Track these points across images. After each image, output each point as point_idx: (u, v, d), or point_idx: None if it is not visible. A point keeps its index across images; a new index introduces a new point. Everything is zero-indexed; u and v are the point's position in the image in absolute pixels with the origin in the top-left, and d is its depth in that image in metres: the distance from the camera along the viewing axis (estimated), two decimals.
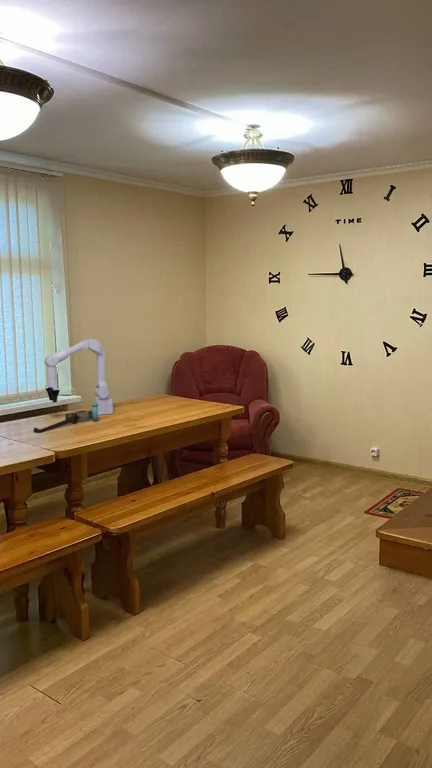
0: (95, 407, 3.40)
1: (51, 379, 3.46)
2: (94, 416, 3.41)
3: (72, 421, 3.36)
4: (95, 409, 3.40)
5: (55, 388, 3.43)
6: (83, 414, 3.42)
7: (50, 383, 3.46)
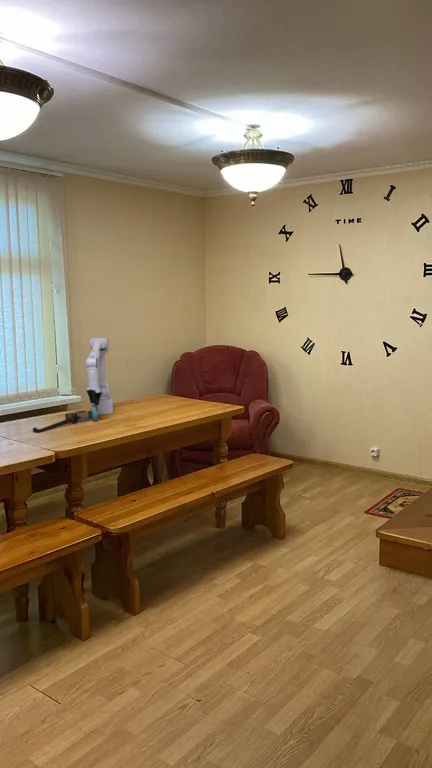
0: (95, 407, 3.40)
1: (93, 381, 3.37)
2: (94, 416, 3.41)
3: (72, 421, 3.36)
4: (95, 409, 3.40)
5: (97, 390, 3.34)
6: (83, 414, 3.42)
7: (92, 385, 3.37)
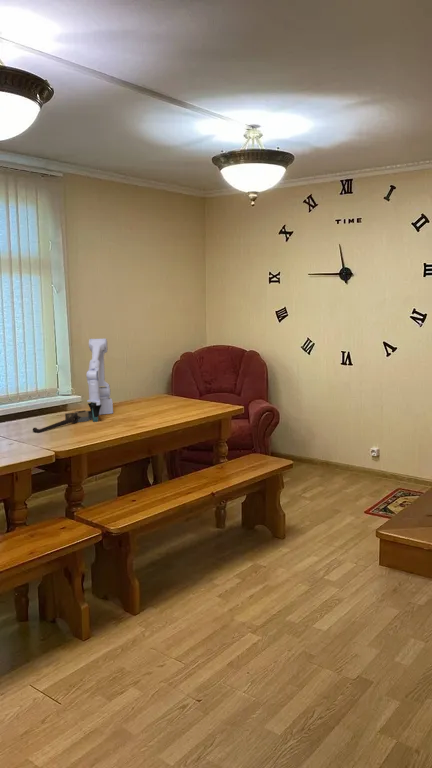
0: None
1: (94, 394, 3.38)
2: None
3: (72, 421, 3.36)
4: None
5: (98, 403, 3.35)
6: (83, 414, 3.42)
7: (93, 398, 3.38)
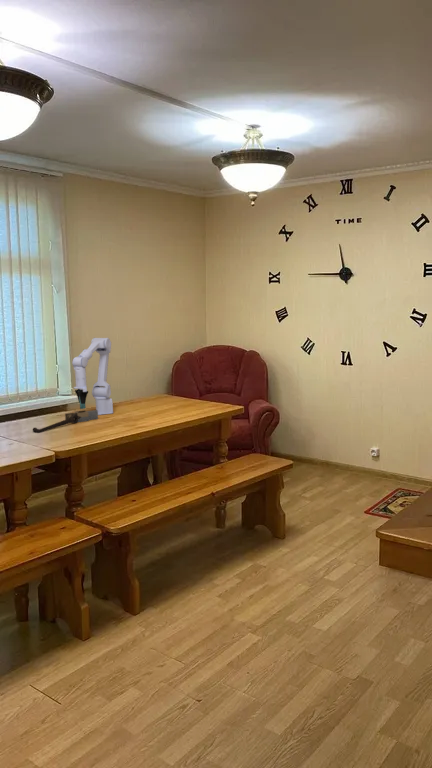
0: None
1: (80, 380, 3.39)
2: None
3: (72, 421, 3.36)
4: None
5: (85, 390, 3.36)
6: (83, 414, 3.42)
7: (80, 385, 3.39)
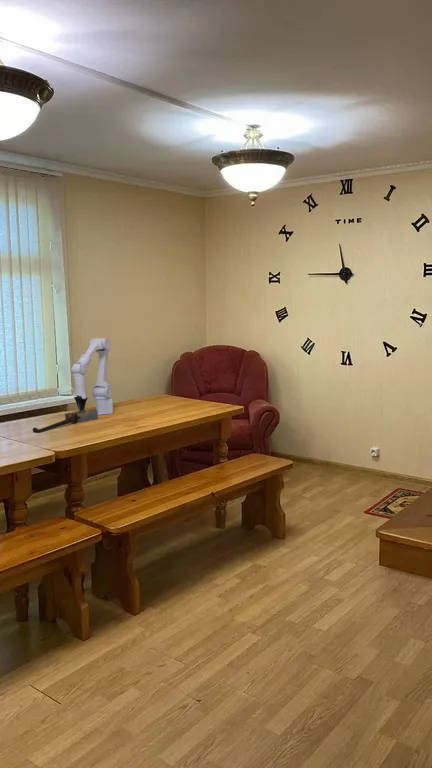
0: None
1: (79, 387, 3.40)
2: None
3: (72, 421, 3.36)
4: None
5: (84, 397, 3.37)
6: (83, 414, 3.42)
7: (79, 391, 3.40)
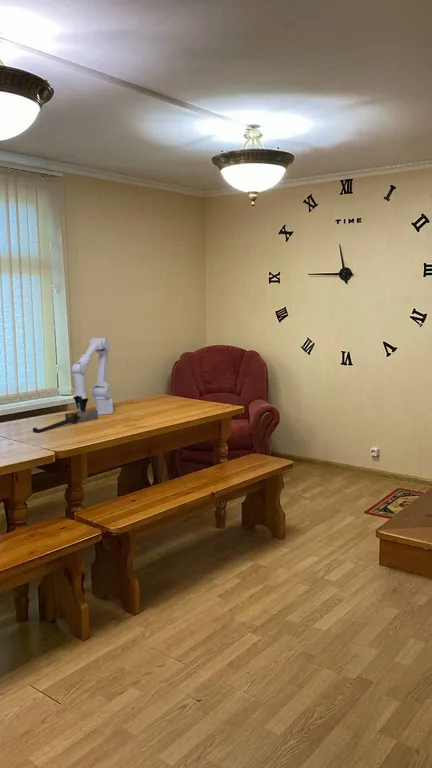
0: None
1: (79, 388, 3.40)
2: None
3: (72, 421, 3.36)
4: None
5: (84, 397, 3.37)
6: (83, 414, 3.42)
7: (79, 392, 3.40)
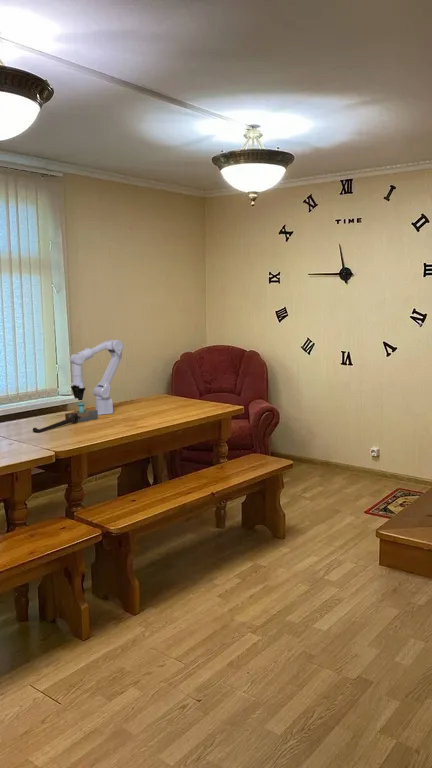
0: (81, 406, 3.43)
1: (77, 377, 3.49)
2: None
3: (72, 421, 3.36)
4: (81, 408, 3.43)
5: (81, 386, 3.46)
6: (83, 414, 3.42)
7: (76, 381, 3.50)
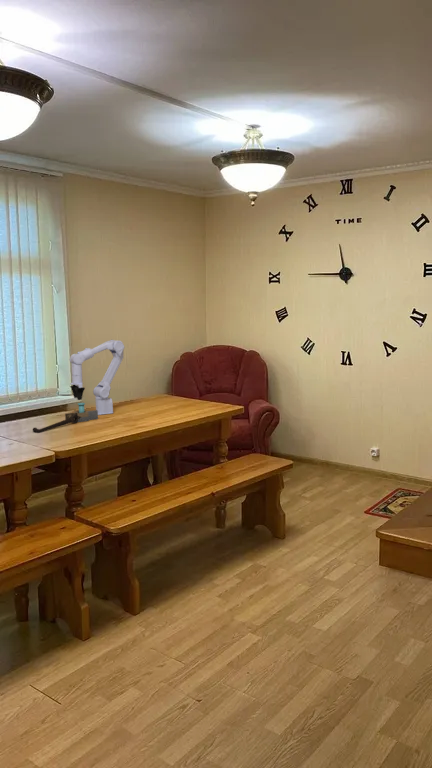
0: (81, 406, 3.43)
1: (76, 377, 3.50)
2: None
3: (72, 421, 3.36)
4: (81, 408, 3.43)
5: (80, 386, 3.47)
6: (83, 414, 3.42)
7: (76, 381, 3.51)
